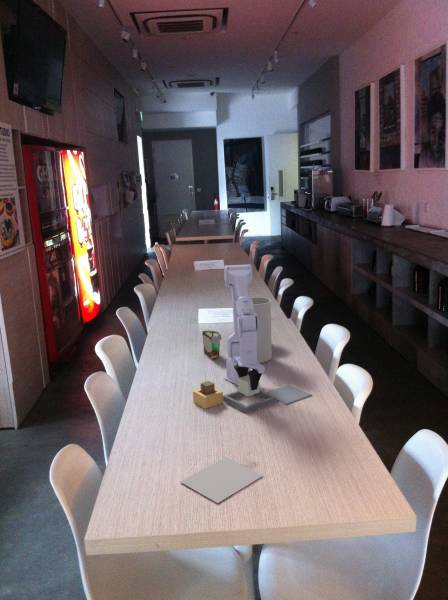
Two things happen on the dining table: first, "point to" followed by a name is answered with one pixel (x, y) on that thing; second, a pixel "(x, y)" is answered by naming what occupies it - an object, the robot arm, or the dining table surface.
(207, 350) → the food container
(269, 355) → the cylinder vase
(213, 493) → the grey square panel
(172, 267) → the dining table surface
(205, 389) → the rod
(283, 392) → the slate mat
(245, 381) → the block
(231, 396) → the grey square frame
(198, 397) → the socket
